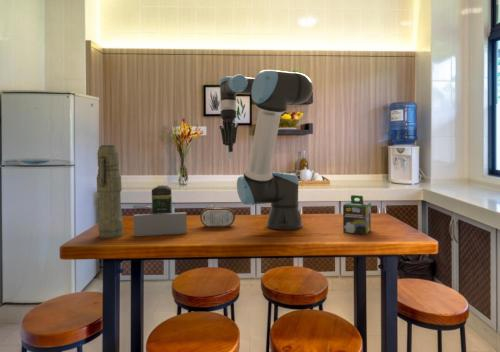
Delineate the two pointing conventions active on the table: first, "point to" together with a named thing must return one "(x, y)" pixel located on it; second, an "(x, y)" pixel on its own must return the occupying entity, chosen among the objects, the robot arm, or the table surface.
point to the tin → (217, 216)
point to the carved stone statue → (109, 192)
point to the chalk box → (357, 216)
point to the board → (160, 224)
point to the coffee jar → (161, 200)
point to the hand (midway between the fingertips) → (229, 158)
